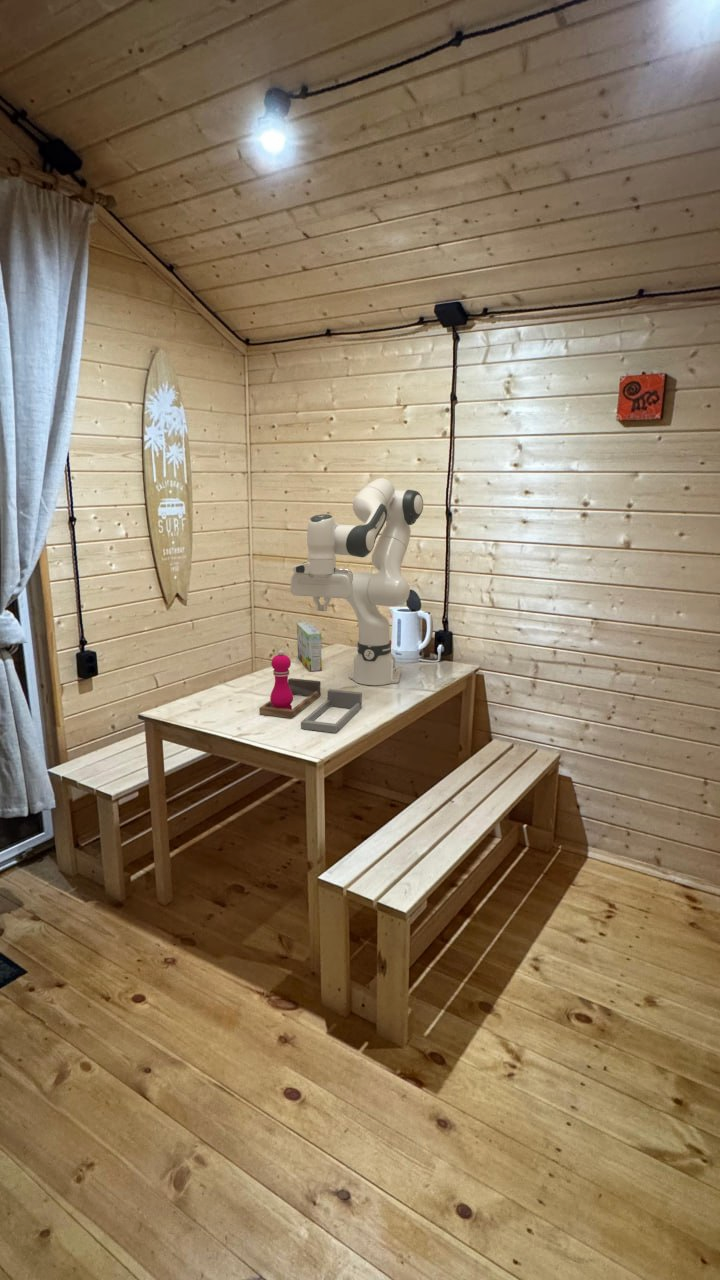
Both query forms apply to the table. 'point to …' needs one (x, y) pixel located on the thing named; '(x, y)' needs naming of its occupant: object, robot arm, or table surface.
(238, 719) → the table surface
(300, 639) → the snack box
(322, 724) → the grey open rectangular frame
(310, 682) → the brown wooden rectangular frame
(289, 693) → the pepper mill
